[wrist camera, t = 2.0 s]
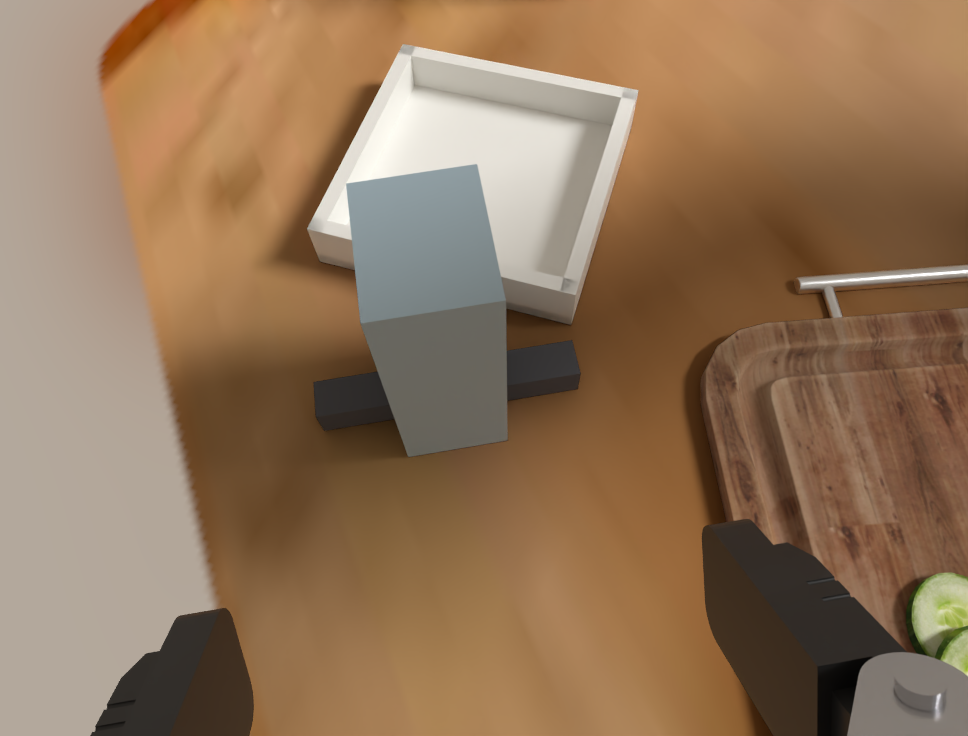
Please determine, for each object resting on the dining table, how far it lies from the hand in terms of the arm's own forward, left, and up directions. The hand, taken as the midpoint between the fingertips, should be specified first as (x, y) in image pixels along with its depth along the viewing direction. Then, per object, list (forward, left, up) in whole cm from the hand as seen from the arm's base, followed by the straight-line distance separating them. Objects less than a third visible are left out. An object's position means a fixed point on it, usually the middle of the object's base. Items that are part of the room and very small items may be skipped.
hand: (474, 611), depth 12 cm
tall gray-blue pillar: (-10, -5, -16) cm, 20 cm away
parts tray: (-22, -7, -16) cm, 28 cm away
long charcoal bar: (-10, -5, -16) cm, 20 cm away
